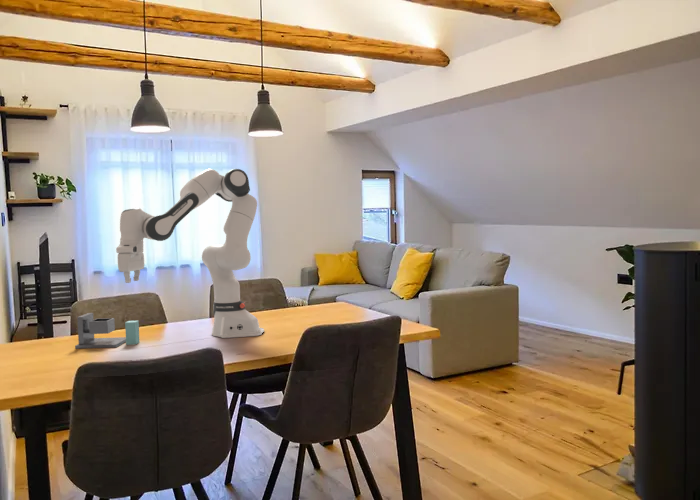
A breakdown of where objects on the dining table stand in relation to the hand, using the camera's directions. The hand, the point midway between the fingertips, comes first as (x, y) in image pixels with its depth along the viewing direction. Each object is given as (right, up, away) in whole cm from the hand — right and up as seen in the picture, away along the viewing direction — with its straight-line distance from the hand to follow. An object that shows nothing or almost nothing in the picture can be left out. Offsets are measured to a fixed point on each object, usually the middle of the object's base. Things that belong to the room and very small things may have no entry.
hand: (132, 281), depth 230 cm
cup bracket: (-12, -25, -1) cm, 28 cm away
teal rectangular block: (0, -25, -1) cm, 25 cm away
